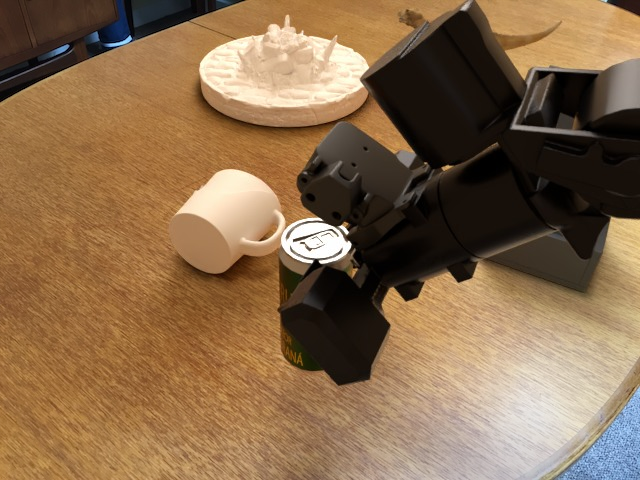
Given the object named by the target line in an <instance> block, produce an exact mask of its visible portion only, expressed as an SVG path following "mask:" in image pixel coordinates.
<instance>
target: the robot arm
mask: <svg viewBox="0 0 640 480" xmlns="http://www.w3.org/2000/svg"><path fill="white" fill-rule="evenodd" d="M492 31H493V30H492V27H491V24H490V22H489V18H488V17H487V15H486V14H485V12H484V10H483V9H482V8H481V6H480V5H479V3H478V2H477V0H465V1H463V2H462V3H460V4H459V5H458V6H456V7H455V8H454V9H453V11H452V9H451V10H447V11H446V12H444V13H443V14H441V15H439V16H437V17H436V18H434V19H433V20H431V21H429V20H428V19H427V20H426V21H425V22H424V23H422V24H421V25H420V26H418V27H417V28H416V29H414V28H413V30H412V31H410V32H409V33H408V34H406V36H404V37H403V38H401V39H400V40H399V41H398V42H396V44H394V45H393V46H392V47H391V48H389V49H388V50H387V51H386V52H385V53H384V54H382V56H380V57H379V58H378V59H377V60H376V61H374V63H373V64H371V65H370V66H369V69H368V70H367V71H366V72H365V73H364V74H363V75H362V76H361V78H360V82H361V83H362V84H363V85H364V87H365V88H366V89H367V91H368V94H369V95H370V96H371V98H372V99H373V100H374V101H375V103H376V104H377V105H378V106H379V108H380V109H381V110H382V112H383V113H384V115H385V116H386V117H387V118H388V120H389V121H390V122H391V124H392V125H393V127H395V129H396V130H397V131H398V133H399V134H400V136H401V137H402V139H404V141H405V143H406V144H407V145H408V146H409V148H410V149H411V150H412V151H413V152H412V151H406V150H403V149H400V150H399V151H397V152H395V153H394V152H393V151H392V150H390V149H388V148H387V147H386V146H384V145H383V144H381V143H380V142H379V141H377V140H376V139H374V138H373V137H371V136H370V135H369V134H368V133H366V132H365V131H363V130H362V129H361V128H359V127H358V126H356V125H354V123H350V122H348V121H338V122H337V123H336V124H334V126H333V127H332V128H331V129H330V130H329V131H328V133H327V134H325V136H324V137H323V139H321V141H320V142H319V143H318V144H317V145H316V147H315V148H314V150H313V152H312V154H311V156H310V157H309V159H308V160H307V162H306V164H305V165H304V167H303V169H301V171H300V172H299V173H298V174H297V176H296V183H295V184H296V188H297V191H299V193H300V194H301V195H300V197H299V199H300V203H301V205H302V207H303V208H304V209H306V210H307V211H309V212H310V213H311V214H313V215H314V216H315V217H316V218H320V219H321V220H323V221H324V222H326V223H327V224H328V225H330V226H332V227H339V226H341V225H342V226H343V225H344V223H346V226H345V227H344V228H346V230H347V231H348V234H347V235H346V238H347V240H348V241H349V242H350V243H351V244H352V246H353V249H354V250H353V252H352V253H351V255H350V257H349V258H350V261H351V263H352V264H353V270H356V269H357V270H356V272H355V273H354V275H352V278H351V277H350V276H349V275H348V274H347V273H346V272H345V271H342V270H339V269H335V268H332V267H329V266H326V265H325V266H323V265H322V264H321V263H320V262H319V261H318V260H317V258H315V259H314V260H313V262H312V263H311V265H310V266H309V268H308V269H307V271H306V272H305V274H304V275H303V277H302V278H301V279H300V281H299V283H298V286H297V288H296V289H295V291H294V292H293V294H292V295H291V297H290V298H289V299H288V300H287V301H285V302H284V303H283V304H282V305H280V304H279V306H278V307H277V308H276V311H277V313H278V314H279V316H280V315H281V319H282V325H283V326H284V327H285V329H286V330H287V331H288V332H289V333H290V334H291V335H292V336H293V337H294V338H295V340H296V341H297V342H298V343H299V344H300V345H301V346H302V347H303V348H304V349H305V350H306V352H307V353H308V354H309V355H310V356H311V357H312V358H313V359H314V360H315V361H316V363H317V364H318V365H319V366H320V367H321V368H322V369H323V370H324V371H325V372H324V373H325V374H326V375H327V376H328V377H329V378H330V379H331V380H332V381H333V382H334V383H335V384H336V386H338V387H345V386H350V385H354V384H358V383H362V382H367V381H370V380H371V378H372V376H373V374H374V371H375V369H376V367H377V365H378V363H379V362H380V358H382V357H381V356H382V354H383V352H384V349H386V346H387V343H388V341H389V339H390V332H391V327H392V324H391V323H390V322H389V321H388V320H387V317H385V316H386V314H385V310H384V307H383V303H384V301H385V299H386V297H387V294H388V293H389V291H390V289H392V288H394V290H395V291H396V292H397V294H398V295H399V296H400V297H401V298H402V299H403V301H404V302H405V303H407V302H410V301H413V300H416V299H418V298H419V296H420V294H421V292H422V289H423V287H424V285H425V283H426V282H427V281H429V280H432V279H435V278H437V277H440V276H442V275H445V274H448V273H449V274H450V275H451V276H452V278H453V279H454V280H455V281H456V283H457V284H460V283H463V282H466V281H468V280H472V279H473V277H474V275H475V271H476V269H477V266H478V263H479V261H482V260H486V259H485V258H488V257H490V256H493V255H495V254H498V253H500V252H503V251H506V250H508V249H511V248H514V247H516V246H519V245H522V244H524V243H527V242H529V241H532V240H535V239H537V238H540V237H543V236H545V235H548V234H551V233H553V232H556V231H559V232H560V233H561V234H562V235H563V237H564V238H565V240H566V241H567V242H568V244H569V245H570V247H571V248H572V249H573V251H574V252H575V254H576V255H577V256H578V257H579V258H580V259H581V260H589V259H591V258H592V256H593V252H594V248H595V245H596V242H597V240H598V237H599V235H600V233H601V231H602V230H603V228H604V227H605V226H606V225H607V224H608V223H609V221H610V222H611V220H610V218H611V219H612V218H613V219H618V220H633V221H634V220H635V221H640V57H637V58H631V59H627V60H624V61H622V62H619V63H616V64H612V65H611V66H609V67H607V68H606V69H604V70H602V69H586V68H585V69H584V68H569V67H568V68H567V67H561V68H551V67H549V66H532V67H530V68H529V69H528V70H527V72H526V75H525V78H524V77H523V76H522V75H521V73H520V72H519V70H518V69H517V67H516V65H514V63H513V61H512V60H511V58H510V56H509V55H508V54H507V52H506V51H504V49H503V48H502V47H501V45H500V44H499V42H498V41H497V39H496V38H495V36H494V34H493V32H494V31H493V32H492ZM560 113H562V114H565V115H567V116H570V117H572V118H575V119H574V124H573V128H572V130H568V129H557V128H556V127H557V123H558V119H559V116H560ZM447 166H448V167H449V168H447V169H443V168H445V167H447Z"/></svg>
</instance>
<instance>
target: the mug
mask: <svg viewBox="0 0 640 480" xmlns="http://www.w3.org/2000/svg"><path fill="white" fill-rule="evenodd" d="M286 224H287V223H286V219H285V217H284V215H283V210H282V205H281V202H280V200H279V198H278V196H277V194H276V193H275V192H274V190H273V189H271V187H270V186H269V185H268V184H267V183H266V182H264V181H263V180H262V179H260V178H258V177H257V176H255V175H253V174H251V173H249V172H246V171H243V170H240V169H232V168H230V169H229V168H228V169H222V170H219V171H217V172H215V173H214V174H213V175H212V176H211V178H210V179H208V181H207V182H206V183H205V184H204V185H203V184H201V186H200V188H199V190H197V189H195V190H194V191H193V193H192V195H191V196H190V197H189V199H187V201H186V202H185V203H184V204H183V205H182V206H181V208H179V210H178V211H177V212H176V213H175V214H174V215H173V216H172V217H171V219H170V220H169V223H168V235H169V239H170V242H171V244H172V245H173V247H174V249H175V251H176V252H177V253H178V254H179V256H180V257H181V258H182V259H183V260H184V261H186V262H187V263H188V264H189V265H191V266H192V267H194V268H195V269H198V270H199V271H202V272H205V273H207V274H212V275H213V274H214V275H215V274H216V275H217V274H222V273H224V272H226V271H227V270H229V269H230V268H231V267H232V266H233V265H234V264H235V263H236V262H238V260H239V259H240V258H242V257H243V256H244V255H246V256H250V257H258V258H259V257H265V256H268V255H270V254H271V253H273V252H276V250H278V249H279V246H280V243H281V238H282V235H283V233H284V231H285V230H286V229H287V228H286V226H287V225H286ZM275 227H277V229H276V231H275V232H274V233H273V235H271V236H270V237H269V238H266V239H265V240H261V239H263V238H264V237H265V236H266V235H267V234H268V233H269V232H270V231H271V230H272V229H273V228H275ZM260 240H261V241H260Z"/></svg>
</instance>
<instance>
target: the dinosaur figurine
mask: <svg viewBox="0 0 640 480" xmlns="http://www.w3.org/2000/svg"><path fill="white" fill-rule="evenodd" d="M451 10H452V9H451ZM453 10H454V9H453ZM453 10H452V11H453ZM397 17H398V22H399V23H400V24H405V25H406V26H407V27H412V28H413V30H414V29H416V28H417V27H418V26H420V25H421V24H422V23H424V22H425V21H427V20H426V17H425V16H424V15H423V13H422V12H421V11H420V10H419V8H415V7H414V6H413V7H411V8H410V9H409V8H407V9H405V10H404V9H399V10H398V11H397ZM562 23H563V20H559V21H558V22H557V23H555V24H554V25H553V26H550V27H549V28H547V29H545V30H543V31H539V32H536V33H529V34H528V33H527V34H502V33H498V32H496V31H493V30H492V32H493V34H494V36H495V38H496V39H497V41H498V42H499V44H500V45H501V47H502V48H503V49H504V51H505V52H506V51H510V50H514V49H519V48H521V47H526V46H529V45H532V44H534V43H537V42H540V41H542V40H543V39H544V38H547V37H548V36H550V35H551V34H552V33H554V32H555V31H556V30H557V29H558V28H559V27H560V26H561V24H562Z"/></svg>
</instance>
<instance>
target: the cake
mask: <svg viewBox="0 0 640 480" xmlns="http://www.w3.org/2000/svg"><path fill="white" fill-rule="evenodd" d="M290 25H291V19H290V15H289V14H286V15H285V18H284V24H283V27H282V28H281V27H280V26H279V25H278V24H276V23H270V24H269V25H268V26H267V31H266V32H265V34H261V35H253V34H251V36H246V37H241V38H237V39H234V40H230V41H228V42H225V43H224V44H221V45H218V46H216V47H215V48H214V49H212V50H211V51H209V52H208V53H207V54H206V55H205V56H204V57H203V58H202V60H201V62H200V63H199V68H198V74H199V77H200V88H201V93H202V95H203V98H204V99H205V100H206V102H207V103H208V104H209V105H210V106H211V107H212V108H213V109H215V110H217V111H218V112H220V113H222V114H223V115H224V116H228V117H230V118H232V119H234V120H238V121H241V122H244V123H249V124H254V125H259V126H267V127H277V128H281V127H282V128H297V127H298V128H300V127H309V126H316V125H321V124H325V123H330V122H333V121H337V120H339V119H342V118H344V117H346V116H349V115H350V114H352V113H354V112H356V111H357V110H358V109H359V108H360V107H361V106H363V104H365V102H366V100H367V98H368V95H369V92H368V91H367V89H366V88H365V87H364V85H363V84H362V83H361V82H360V78H361V76H362V75H363V74H364V73H365V72H366V71H367V70H368V69H369V68H370V66H369V65H368V62H367V60H366V58H364V57H363V55H361V54H359V52H355V51H354V49H353V48H351V47H347V46H344V45H342V44H339V42H337V40H338V35H337V34H336V35H334V37H333V38H332V39H331V40H330V39H326V38H323V37H318V36H315V35H313V36H312V35H309V36H307V35H305V34H304V30H301V32H300V33H297V32H296V31H297V29H296V28H295V27H294V26H290Z"/></svg>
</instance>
